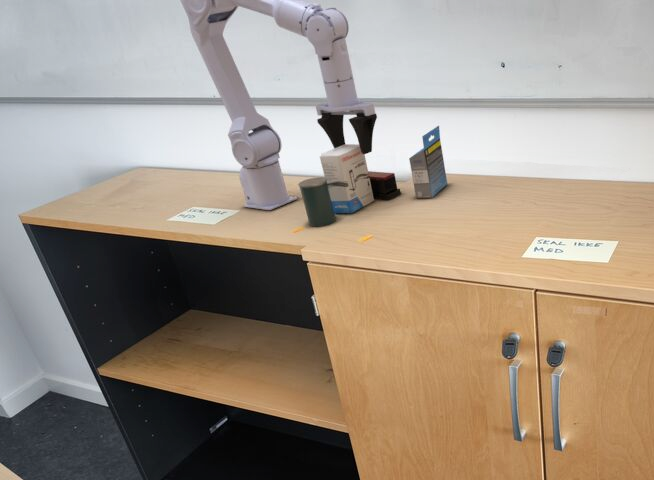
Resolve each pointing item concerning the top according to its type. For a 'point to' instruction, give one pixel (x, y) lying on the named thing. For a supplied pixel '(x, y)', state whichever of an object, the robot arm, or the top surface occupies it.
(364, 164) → the ink box
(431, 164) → the blue grey hanging carton
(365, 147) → the robot arm
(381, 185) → the black and red block
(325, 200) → the pen tin
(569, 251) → the top surface
